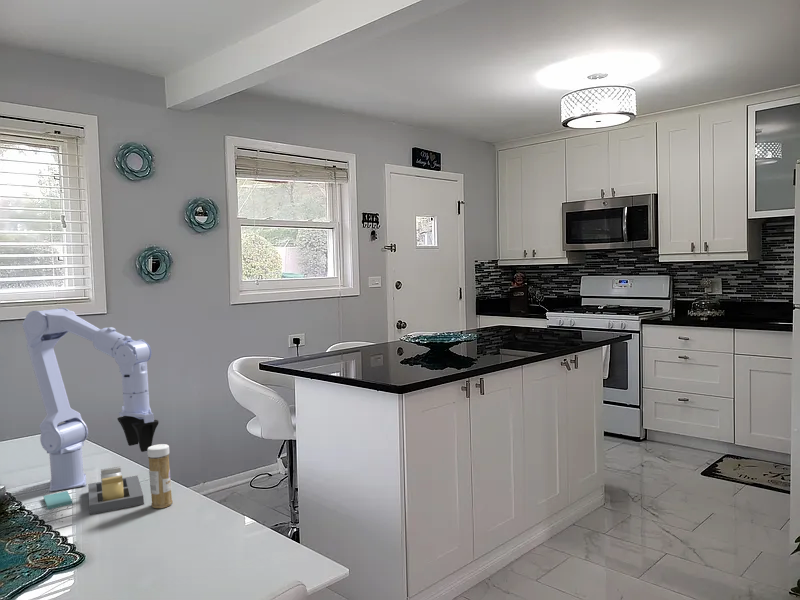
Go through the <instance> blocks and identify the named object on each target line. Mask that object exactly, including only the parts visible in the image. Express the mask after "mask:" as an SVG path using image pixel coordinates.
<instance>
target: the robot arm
mask: <svg viewBox="0 0 800 600" xmlns="http://www.w3.org/2000/svg"><path fill="white" fill-rule="evenodd" d="M21 325H22V328H23V332H24V335H25V339H26V347H27V351H28V355H29V359H30V361H31V365H32V370H33V372H34V375H35V379H36V382H37V387H38V389H39V392H40V397H41V401H42V404H43V407H44V411H45V413H46V416H44V418H43V420H42V421H41V422H40V424H39V425H38V427H39V430H40V438H39V439H40V444H41V447H42V448H43V450H44V451H46V454H49V464H50V467H49V468H50V483H49V489H48V491H49V492H56V491H62V490H69V489H73V488H81V487H86V486H87V475H86V473H85V472H84V459H83V447H84V445H85V443H84V442H85V441H86V440H87V438H88V436H89V429H88V426H87V423H85V421H84V420H83V418H82V414H81V413H80V412H79V411H77V410H75V409H73V408H71V405H70V401H69V397H68V394H67V391H66V386H65V383H64V381H63V377H62V373H61V369H60V366H59V363H58V359H57V356H56V352H55V349H54V348H55V346H56V345H57V344H58V342H59V341H60V340H62V339H63V337H65V336H66V335H67V334H68V333H70V334H73V335H76V336H78V337H81V338H83V339H85V340H88V341H90V342H92V345H93V347H94V349H95V350H98V351H99V352H101V353H103V354H105V355H107V356H109V357H111V358H114V361H115V362H116V364H117V365H118V368H119V369H118V370H119V373H120V375H121V387H122V400H123V401H122V403H123V405H122V406H121V411H120V412H118V416H120V417H117V421H118V423H119V424H120V427H121V428H122V429H123V432H124V435H125V439H126V442H127V445H128V446H130V447H131V446H137V445H138V447H139V450H140V452H142V453H144V452H147V449H148V447H150V446H153V445H152V444H153V440H154V435H155V432H156V429H157V427H158V425H159V423H160V421H159V420H158V419H155V418H154V417H155V416H154V412H152V408H151V406H150V392H149V375H148V373H149V372H148V362H149V361H150V359H151V357H152V353H153V352H152V351H153V350H152V348H151V346H150V344H149V343H148V342H147V341H145V340H144V339H141V338H140V339H136V340H135V339H132V336H129V335H124V334H123V333H120V332H119V331H117V329H116V328H115V327H113V326H110V327H103V328H99V327H97V326H96V325H94V324H92V323H90V322H88V321H87V320H85V319H84V318H82V317H80V316H78V315H77V314H76V312H75V311H73V310H70V309H68V308H66V307H60V308H59V307H58V308H52V309H44V310H31V311H29V312H28V313H27V314H26V317H25V318H24V320H23V322H22V324H21ZM62 422H63V423H62Z"/></svg>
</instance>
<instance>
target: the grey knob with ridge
mask: <svg viewBox="0 0 800 600" xmlns="http://www.w3.org/2000/svg"><path fill="white" fill-rule="evenodd" d="M121 475H122V468H121V466H114V467H108V468H104V469H100V482H101V485H102V479H103V478H109V477H115V476H121Z"/></svg>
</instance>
